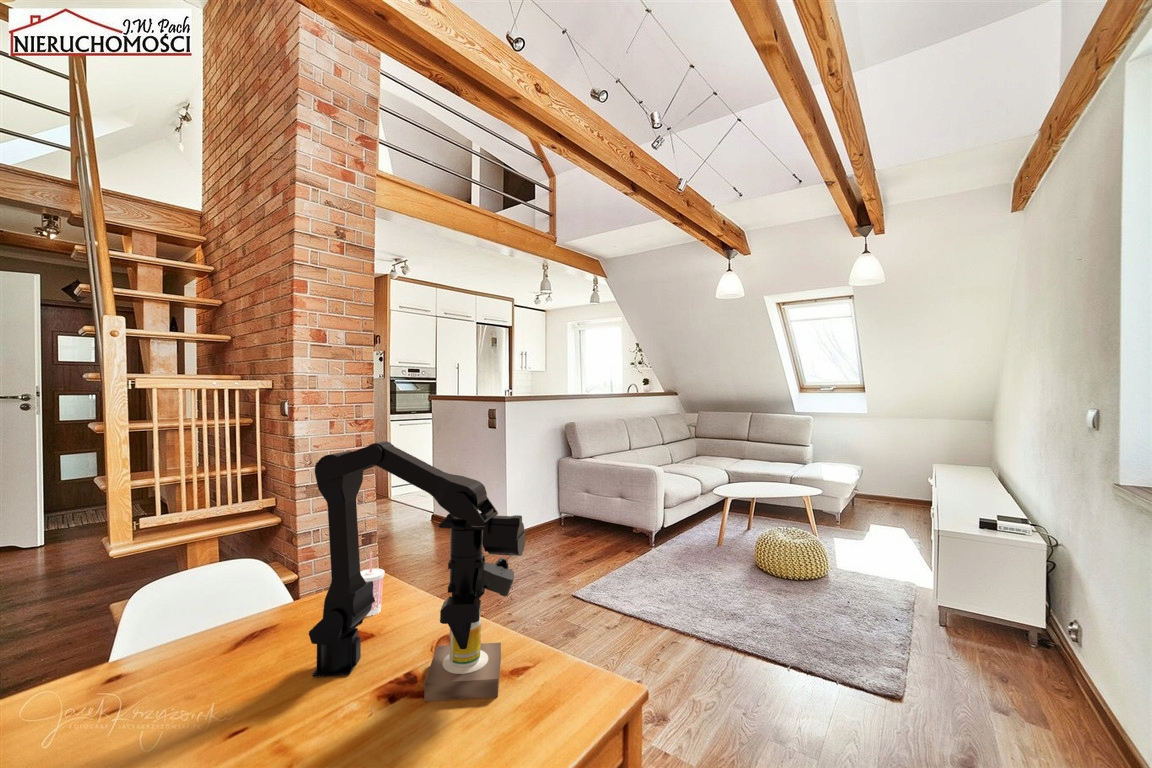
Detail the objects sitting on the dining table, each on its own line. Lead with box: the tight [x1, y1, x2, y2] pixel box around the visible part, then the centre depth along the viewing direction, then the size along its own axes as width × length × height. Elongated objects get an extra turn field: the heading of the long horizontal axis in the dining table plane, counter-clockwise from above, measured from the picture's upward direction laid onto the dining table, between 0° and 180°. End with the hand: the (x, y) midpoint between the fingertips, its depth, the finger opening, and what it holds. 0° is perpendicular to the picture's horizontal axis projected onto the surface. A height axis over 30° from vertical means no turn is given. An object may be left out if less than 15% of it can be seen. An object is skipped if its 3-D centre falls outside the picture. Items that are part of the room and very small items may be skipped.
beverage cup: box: [360, 550, 386, 617], centre depth 113 cm, size 6×6×14 cm
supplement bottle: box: [449, 618, 482, 667], centre depth 87 cm, size 5×5×10 cm
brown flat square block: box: [423, 642, 502, 702], centre depth 87 cm, size 12×12×3 cm
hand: (465, 640), depth 87 cm, fingers open, 5 cm apart
